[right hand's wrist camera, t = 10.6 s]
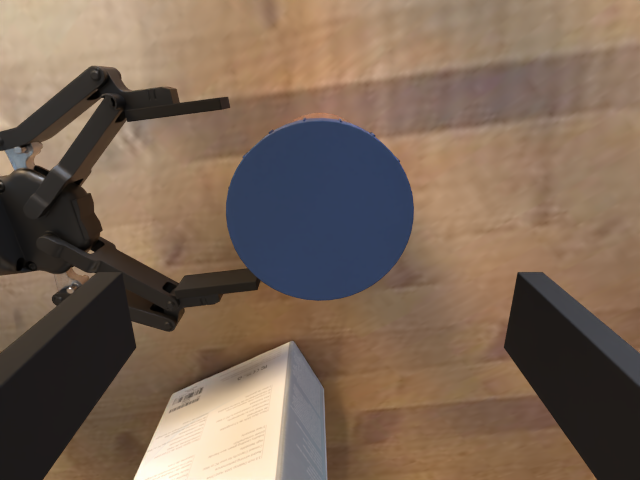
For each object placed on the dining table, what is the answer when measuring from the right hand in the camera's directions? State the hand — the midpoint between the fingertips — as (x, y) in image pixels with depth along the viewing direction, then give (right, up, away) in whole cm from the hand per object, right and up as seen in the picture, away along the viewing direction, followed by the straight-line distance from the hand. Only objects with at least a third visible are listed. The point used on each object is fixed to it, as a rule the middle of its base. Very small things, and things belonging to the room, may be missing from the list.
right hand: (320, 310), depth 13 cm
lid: (0, +4, +10) cm, 10 cm away
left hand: (-6, +5, +18) cm, 20 cm away
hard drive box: (-8, -14, +32) cm, 36 cm away
